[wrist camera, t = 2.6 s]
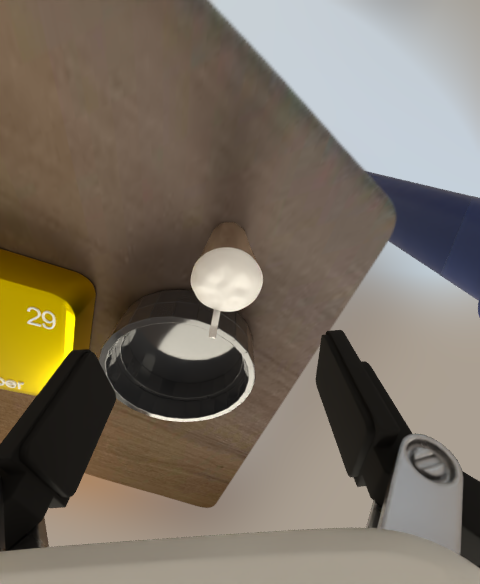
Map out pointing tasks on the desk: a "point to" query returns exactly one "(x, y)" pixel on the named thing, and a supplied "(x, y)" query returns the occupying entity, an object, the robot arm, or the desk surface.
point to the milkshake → (226, 272)
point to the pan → (179, 358)
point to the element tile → (40, 320)
